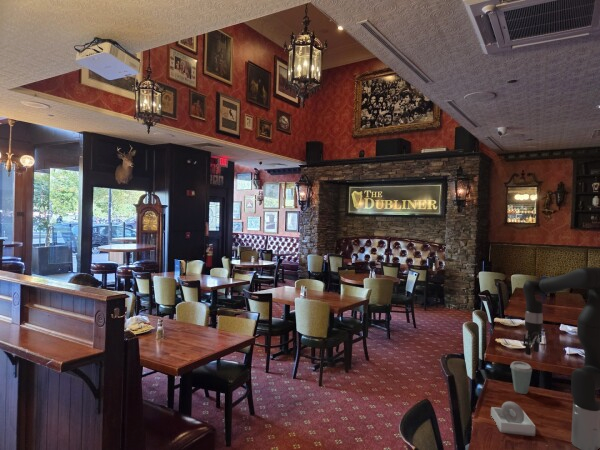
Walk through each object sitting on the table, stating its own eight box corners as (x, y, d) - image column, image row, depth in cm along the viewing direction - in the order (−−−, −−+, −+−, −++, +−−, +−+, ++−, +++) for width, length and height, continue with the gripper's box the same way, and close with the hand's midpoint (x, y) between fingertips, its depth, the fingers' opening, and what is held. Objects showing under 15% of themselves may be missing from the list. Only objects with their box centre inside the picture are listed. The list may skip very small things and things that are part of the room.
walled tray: (522, 419, 185) (522, 410, 184) (535, 436, 171) (535, 426, 171) (490, 416, 187) (491, 406, 187) (500, 432, 173) (501, 422, 173)
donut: (499, 419, 182) (500, 398, 181) (503, 417, 184) (504, 396, 183) (521, 430, 174) (522, 407, 173) (525, 427, 176) (526, 405, 175)
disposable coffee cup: (534, 397, 208) (535, 369, 208) (512, 394, 210) (513, 367, 210) (527, 388, 218) (528, 361, 218) (506, 386, 221) (507, 359, 220)
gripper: (535, 324, 186) (533, 358, 187) (548, 320, 195) (546, 352, 195) (518, 321, 193) (517, 353, 193) (532, 317, 201) (530, 348, 201)
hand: (532, 353), depth 194 cm, fingers open, 8 cm apart
